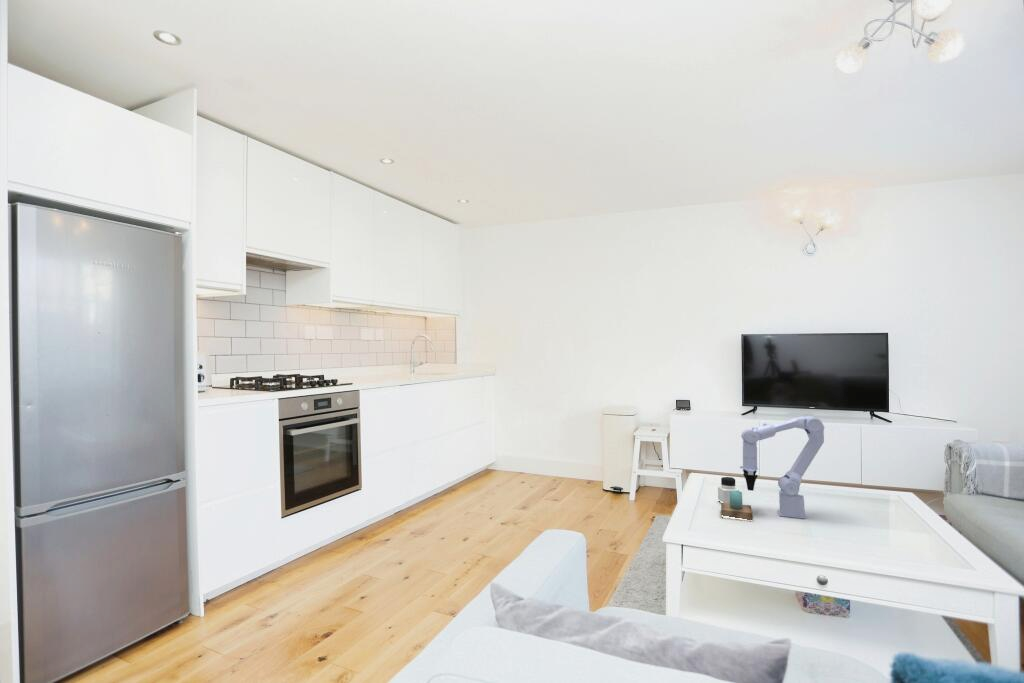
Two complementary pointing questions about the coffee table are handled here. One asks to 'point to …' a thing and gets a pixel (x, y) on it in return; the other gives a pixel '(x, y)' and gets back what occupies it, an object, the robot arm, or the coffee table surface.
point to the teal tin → (735, 499)
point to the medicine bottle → (726, 489)
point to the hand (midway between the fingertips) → (750, 488)
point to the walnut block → (737, 511)
